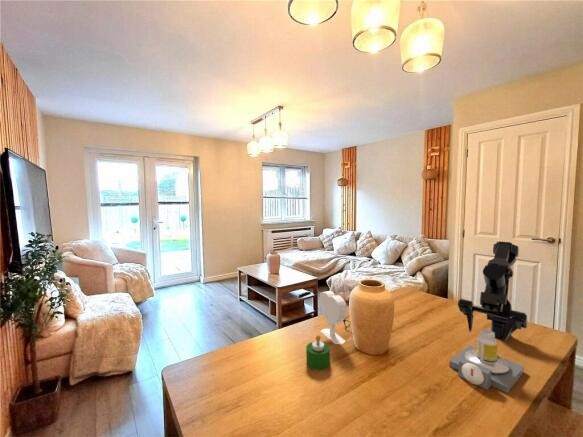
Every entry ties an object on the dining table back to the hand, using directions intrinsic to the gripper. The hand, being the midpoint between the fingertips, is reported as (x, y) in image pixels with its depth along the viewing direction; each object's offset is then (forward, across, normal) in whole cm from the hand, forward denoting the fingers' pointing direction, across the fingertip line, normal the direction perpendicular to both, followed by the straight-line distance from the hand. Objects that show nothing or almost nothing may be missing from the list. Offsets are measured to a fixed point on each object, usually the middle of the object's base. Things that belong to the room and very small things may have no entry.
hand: (486, 335), depth 88 cm
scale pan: (+6, 0, +8) cm, 10 cm away
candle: (+34, -42, -16) cm, 56 cm away
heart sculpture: (+20, -50, -3) cm, 54 cm away
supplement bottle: (+5, 0, +8) cm, 9 cm away
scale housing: (+9, 0, +8) cm, 12 cm away
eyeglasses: (+8, -46, +10) cm, 48 cm away
